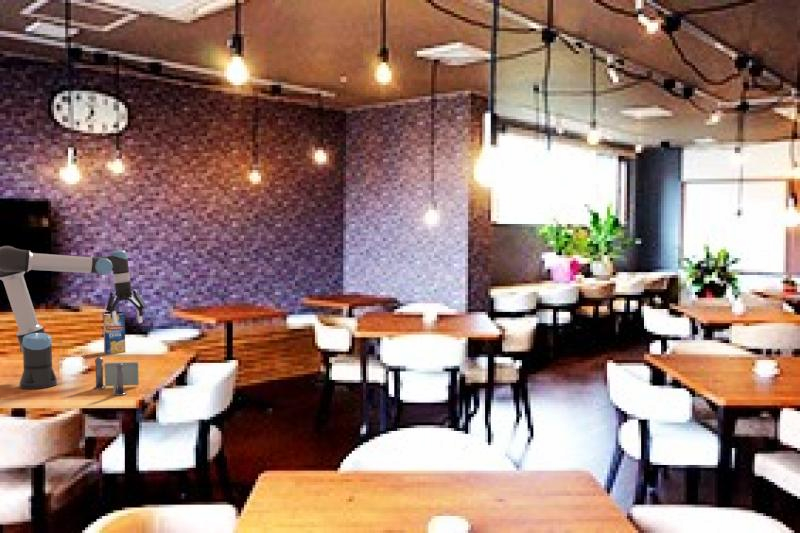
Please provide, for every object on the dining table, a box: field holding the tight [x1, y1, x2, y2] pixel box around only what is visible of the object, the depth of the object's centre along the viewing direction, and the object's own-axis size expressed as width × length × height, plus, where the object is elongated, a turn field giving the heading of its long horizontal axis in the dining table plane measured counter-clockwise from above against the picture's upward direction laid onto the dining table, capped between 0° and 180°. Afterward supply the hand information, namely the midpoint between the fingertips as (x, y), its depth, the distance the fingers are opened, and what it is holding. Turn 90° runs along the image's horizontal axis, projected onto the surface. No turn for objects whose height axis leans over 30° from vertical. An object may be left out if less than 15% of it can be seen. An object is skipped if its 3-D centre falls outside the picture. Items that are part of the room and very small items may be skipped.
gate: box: [104, 361, 140, 387], centre depth 318 cm, size 14×2×10 cm, turn 100°
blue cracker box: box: [102, 312, 126, 355], centre depth 410 cm, size 7×11×22 cm, turn 118°
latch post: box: [112, 362, 128, 397], centre depth 305 cm, size 6×5×14 cm
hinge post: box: [93, 356, 107, 390], centre depth 316 cm, size 5×5×14 cm
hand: (128, 323), depth 354 cm, fingers open, 13 cm apart
